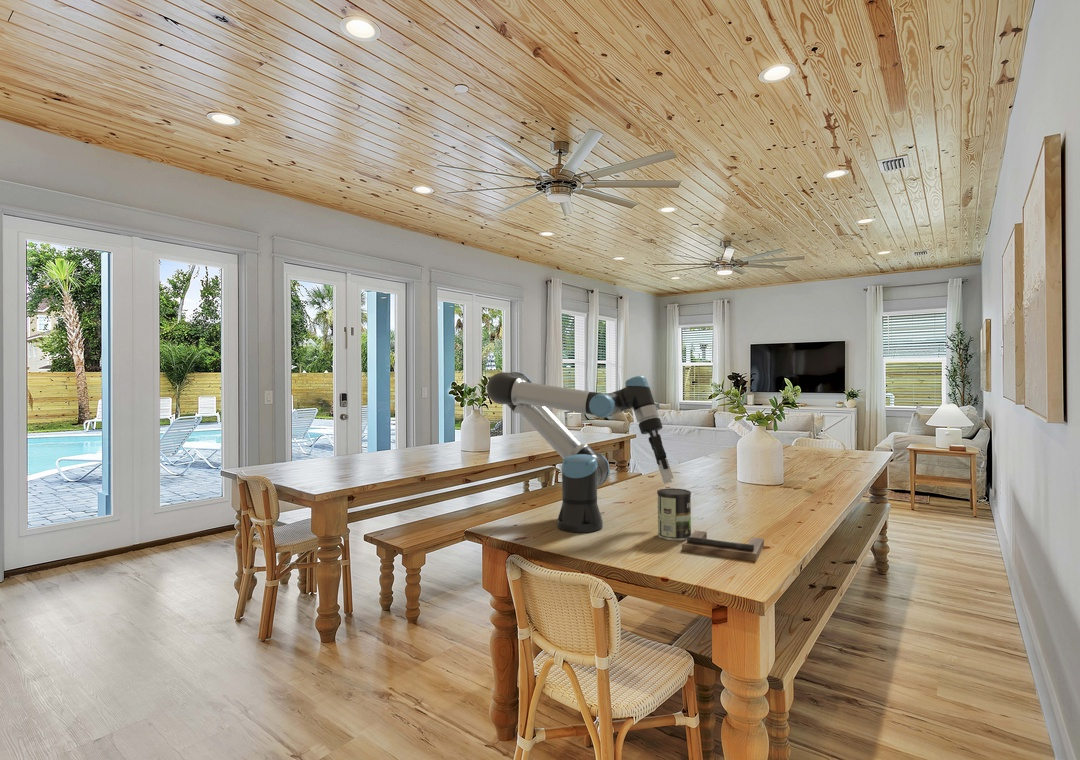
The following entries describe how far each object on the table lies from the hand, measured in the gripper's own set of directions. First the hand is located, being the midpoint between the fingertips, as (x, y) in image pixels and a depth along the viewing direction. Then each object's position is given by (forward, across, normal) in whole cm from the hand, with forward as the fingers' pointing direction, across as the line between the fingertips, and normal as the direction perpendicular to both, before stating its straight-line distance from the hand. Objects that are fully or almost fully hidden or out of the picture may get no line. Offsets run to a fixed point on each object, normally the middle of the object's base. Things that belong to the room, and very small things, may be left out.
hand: (668, 481), depth 186 cm
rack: (+24, -15, -8) cm, 29 cm away
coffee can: (+17, -4, +4) cm, 18 cm away
